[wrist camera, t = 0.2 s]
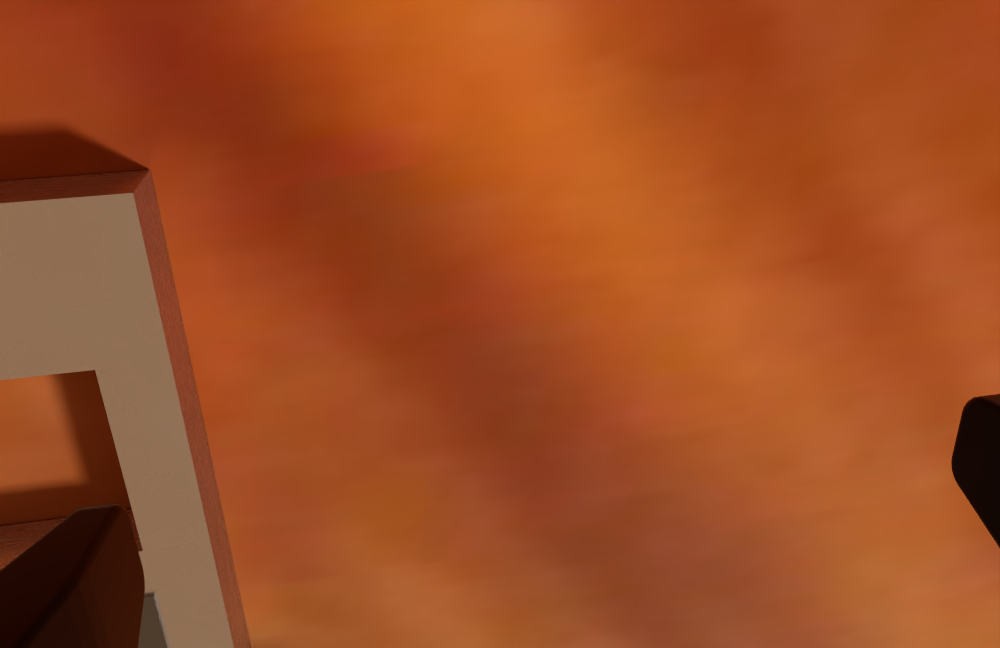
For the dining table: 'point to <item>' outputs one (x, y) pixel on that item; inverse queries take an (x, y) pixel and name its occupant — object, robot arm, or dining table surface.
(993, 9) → the dining table surface
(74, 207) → the square hole board
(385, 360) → the dining table surface
